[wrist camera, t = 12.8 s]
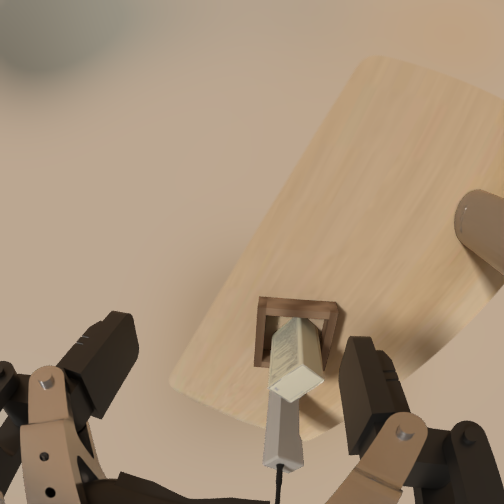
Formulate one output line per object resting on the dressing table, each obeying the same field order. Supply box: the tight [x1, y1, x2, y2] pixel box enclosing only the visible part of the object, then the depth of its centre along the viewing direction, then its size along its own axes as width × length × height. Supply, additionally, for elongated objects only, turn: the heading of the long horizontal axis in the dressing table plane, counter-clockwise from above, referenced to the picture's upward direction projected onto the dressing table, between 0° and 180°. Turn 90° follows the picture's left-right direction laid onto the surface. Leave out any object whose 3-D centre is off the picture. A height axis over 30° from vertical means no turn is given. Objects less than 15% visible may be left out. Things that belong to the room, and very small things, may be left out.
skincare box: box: [268, 317, 324, 403], centre depth 40 cm, size 6×4×12 cm
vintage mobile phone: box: [263, 390, 304, 504], centre depth 39 cm, size 4×5×25 cm
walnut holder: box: [254, 296, 338, 371], centre depth 44 cm, size 11×11×3 cm
